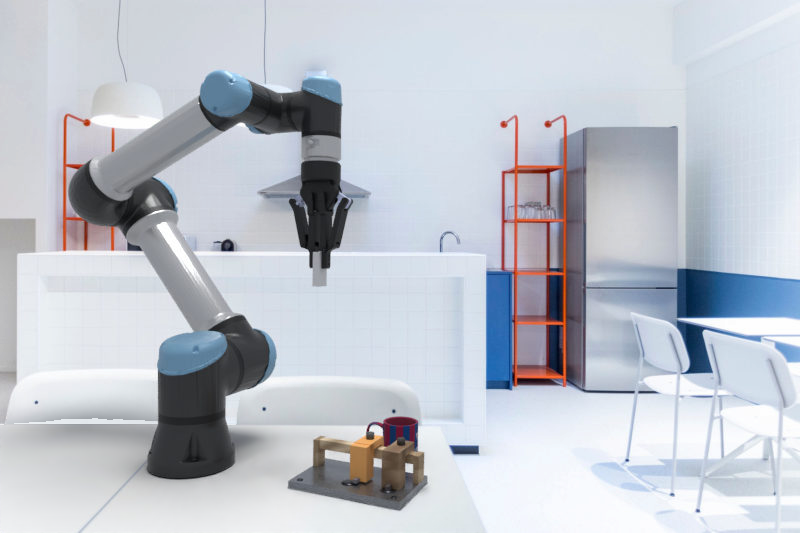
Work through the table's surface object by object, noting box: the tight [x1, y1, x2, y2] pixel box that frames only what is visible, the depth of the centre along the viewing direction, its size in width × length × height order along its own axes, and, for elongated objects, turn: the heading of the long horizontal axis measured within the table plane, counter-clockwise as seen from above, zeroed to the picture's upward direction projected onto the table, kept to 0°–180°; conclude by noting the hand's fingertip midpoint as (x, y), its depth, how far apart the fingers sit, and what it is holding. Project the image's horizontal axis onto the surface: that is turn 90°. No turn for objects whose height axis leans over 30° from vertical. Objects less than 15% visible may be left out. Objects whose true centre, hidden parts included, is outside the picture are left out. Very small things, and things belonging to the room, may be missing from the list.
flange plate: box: [287, 457, 428, 511], centre depth 101 cm, size 20×12×1 cm, turn 67°
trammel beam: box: [312, 435, 425, 491], centre depth 102 cm, size 20×8×7 cm, turn 67°
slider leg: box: [349, 430, 384, 484], centre depth 102 cm, size 3×8×7 cm, turn 157°
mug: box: [365, 416, 419, 452], centre depth 116 cm, size 7×10×7 cm
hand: (319, 286), depth 115 cm, fingers closed
